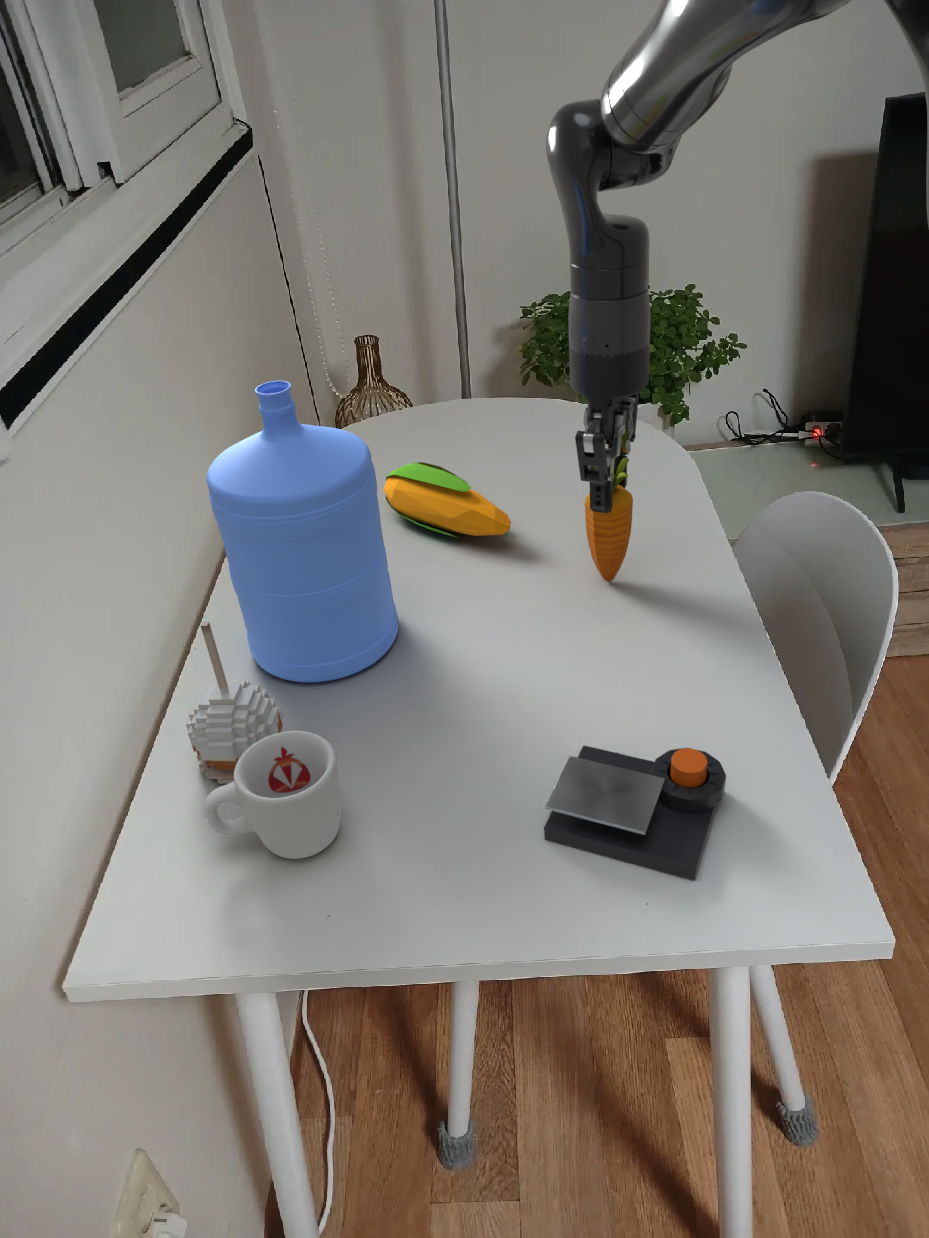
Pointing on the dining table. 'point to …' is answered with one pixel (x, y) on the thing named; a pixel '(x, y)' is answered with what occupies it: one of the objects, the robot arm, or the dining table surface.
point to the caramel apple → (228, 719)
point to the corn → (442, 501)
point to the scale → (672, 826)
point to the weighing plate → (606, 794)
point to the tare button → (688, 768)
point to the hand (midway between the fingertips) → (608, 498)
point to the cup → (283, 794)
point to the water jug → (304, 544)
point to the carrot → (610, 528)
